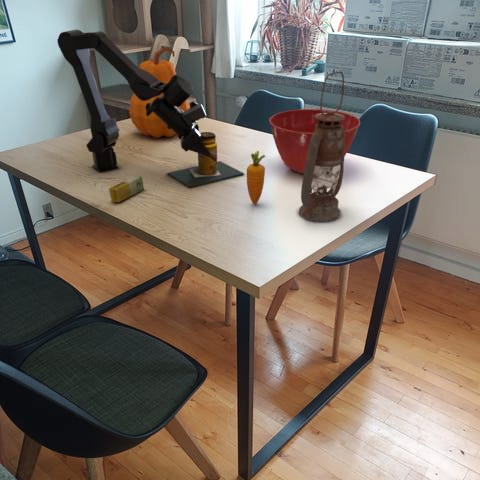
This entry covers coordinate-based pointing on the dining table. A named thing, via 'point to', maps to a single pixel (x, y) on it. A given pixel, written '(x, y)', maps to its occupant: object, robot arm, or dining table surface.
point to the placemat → (191, 181)
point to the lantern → (324, 166)
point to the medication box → (126, 189)
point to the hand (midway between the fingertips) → (208, 151)
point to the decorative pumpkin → (137, 107)
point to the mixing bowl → (303, 134)
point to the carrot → (255, 178)
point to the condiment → (207, 157)
